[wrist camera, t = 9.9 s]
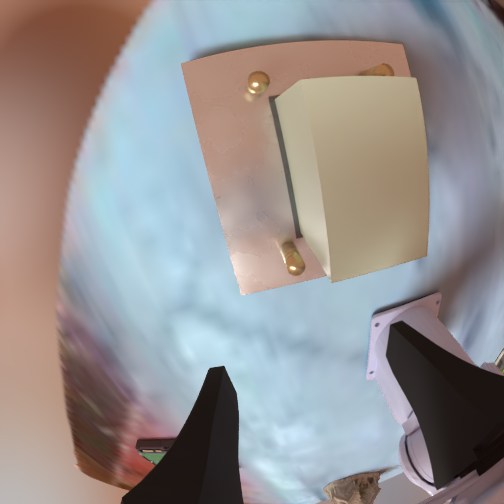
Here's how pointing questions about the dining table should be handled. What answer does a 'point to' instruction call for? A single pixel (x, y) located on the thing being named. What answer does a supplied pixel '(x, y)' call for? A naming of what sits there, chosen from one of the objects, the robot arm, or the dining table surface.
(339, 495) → the ceramic cottage
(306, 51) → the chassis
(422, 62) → the dining table surface
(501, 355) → the coffee can
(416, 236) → the block
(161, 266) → the dining table surface
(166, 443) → the disk drive
